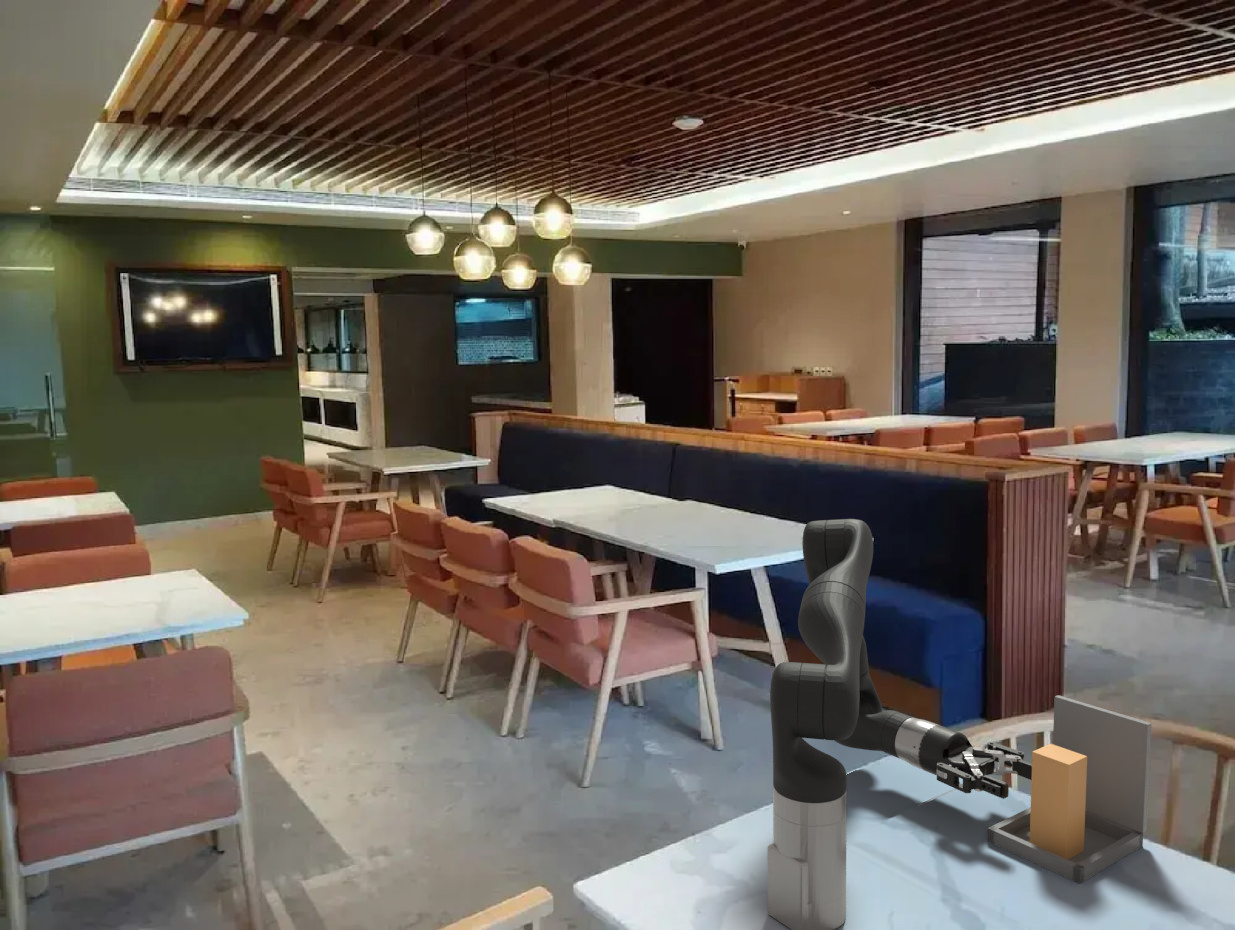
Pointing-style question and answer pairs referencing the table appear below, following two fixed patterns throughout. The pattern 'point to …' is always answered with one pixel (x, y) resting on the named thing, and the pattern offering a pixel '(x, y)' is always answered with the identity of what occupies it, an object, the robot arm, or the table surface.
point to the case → (1094, 790)
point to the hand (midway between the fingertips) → (1024, 783)
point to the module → (1058, 800)
